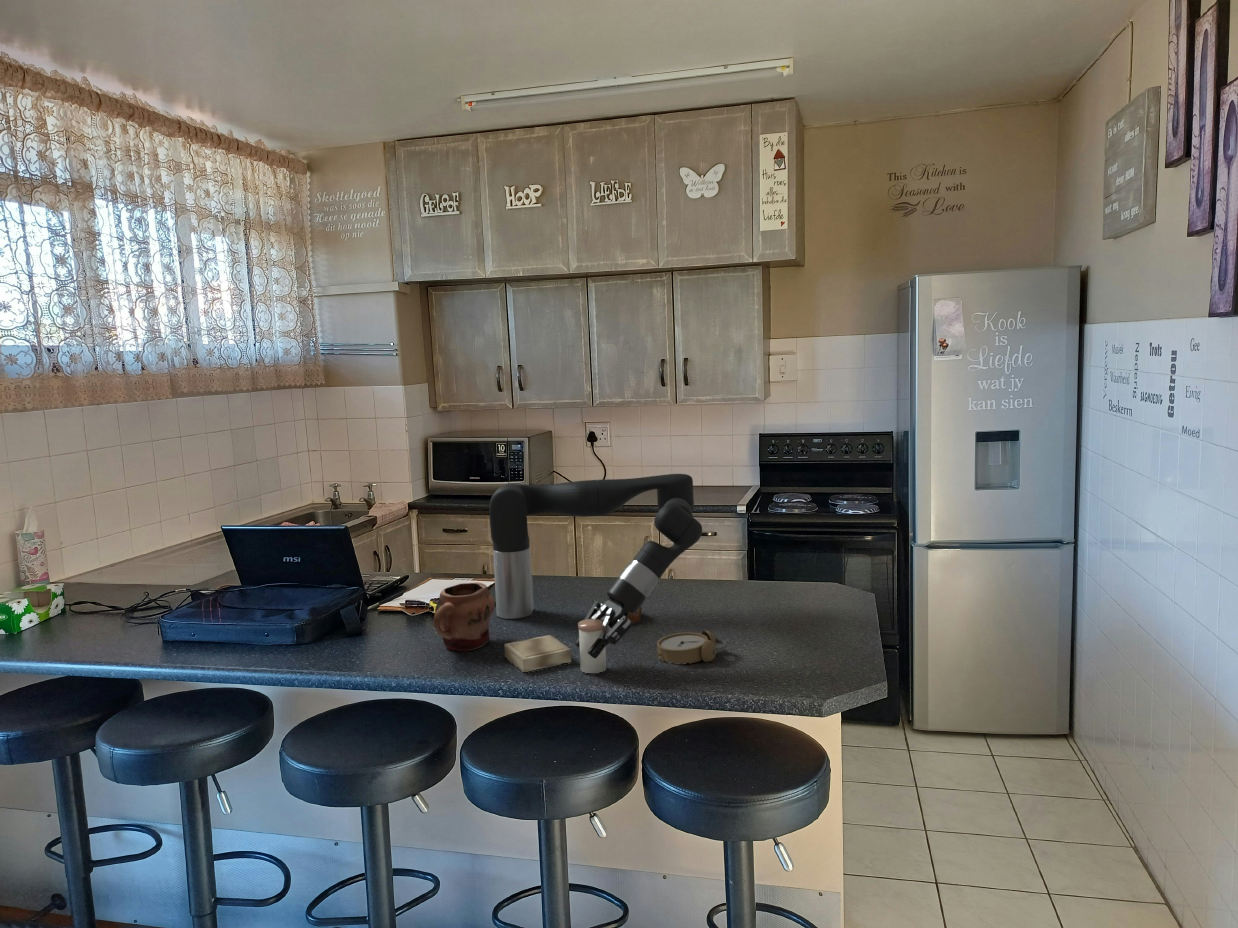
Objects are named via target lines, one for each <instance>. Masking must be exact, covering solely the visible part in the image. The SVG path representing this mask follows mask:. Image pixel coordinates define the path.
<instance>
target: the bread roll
mask: <svg viewBox="0 0 1238 928" xmlns="http://www.w3.org/2000/svg"><path fill="white" fill-rule="evenodd" d="M641 617H642V605H641V606H640V608H639V609H638V611H637V612H636V613H635V614H631V613H629V615H628V617H627V619H629V620H630V621H631V622H632V623H633V625H634V624H637V623H639V622H640V621H641V619H642V618H641Z"/></svg>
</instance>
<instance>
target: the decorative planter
mask: <svg viewBox="0 0 1238 928" xmlns="http://www.w3.org/2000/svg"><path fill="white" fill-rule="evenodd" d="M495 607H496V600H495V598H494V597H493V596H492V594H491V593H490V591H489V588H488V586H487V585H486V584H484V583H482V582H479V581H478V582H463V583H458V584H456V585H452V586H449V587H445V588H443V589H442V590H441V592H440V593H439V598H438V600H437V603H436V605H435V608H434V609H435V610H434V617H433V627H434V629H435V632H437V634H438V636H440V637H441V638H442V640H443V644H444V645H445V648H447V649H448V650H452V651H461V652H465V651H467V652H468V651H469V652H470V651H473V650H476V649H479V648H481V647H483V646H485V645H486V644H487V643H489V642H490V630H489V629H490V628H489V626H490V625H489V622H490V619H491V617H492V615H493V613H494V611H495Z"/></svg>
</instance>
